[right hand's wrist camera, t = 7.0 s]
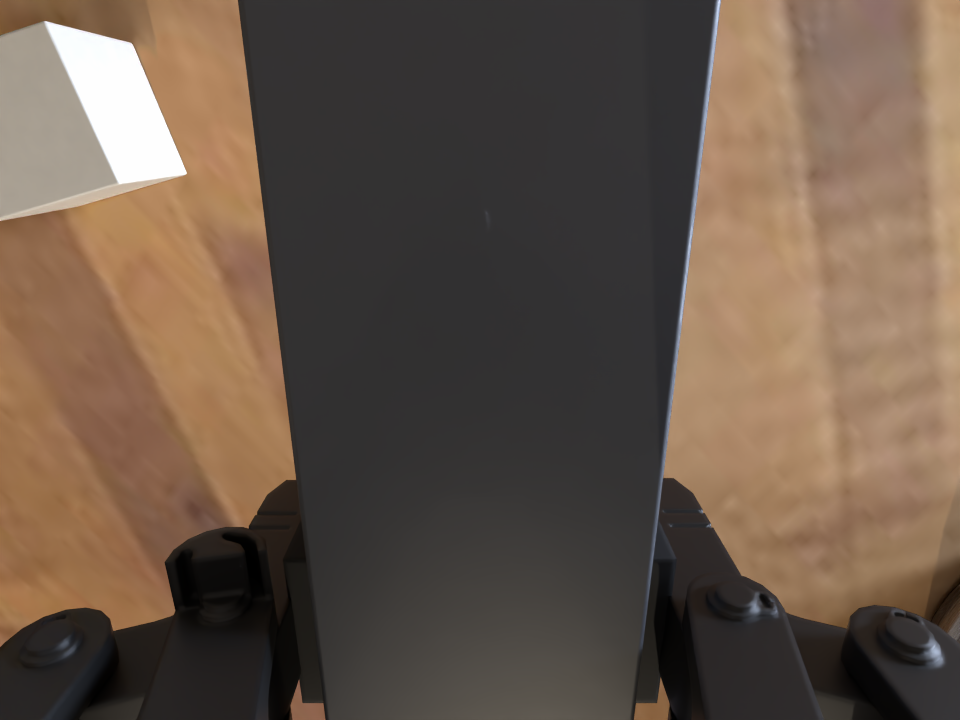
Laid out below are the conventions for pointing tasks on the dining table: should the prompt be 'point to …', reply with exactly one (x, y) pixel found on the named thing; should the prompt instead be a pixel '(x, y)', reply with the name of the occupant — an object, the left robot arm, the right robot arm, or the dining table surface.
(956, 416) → the dining table surface
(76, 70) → the block
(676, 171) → the bar
